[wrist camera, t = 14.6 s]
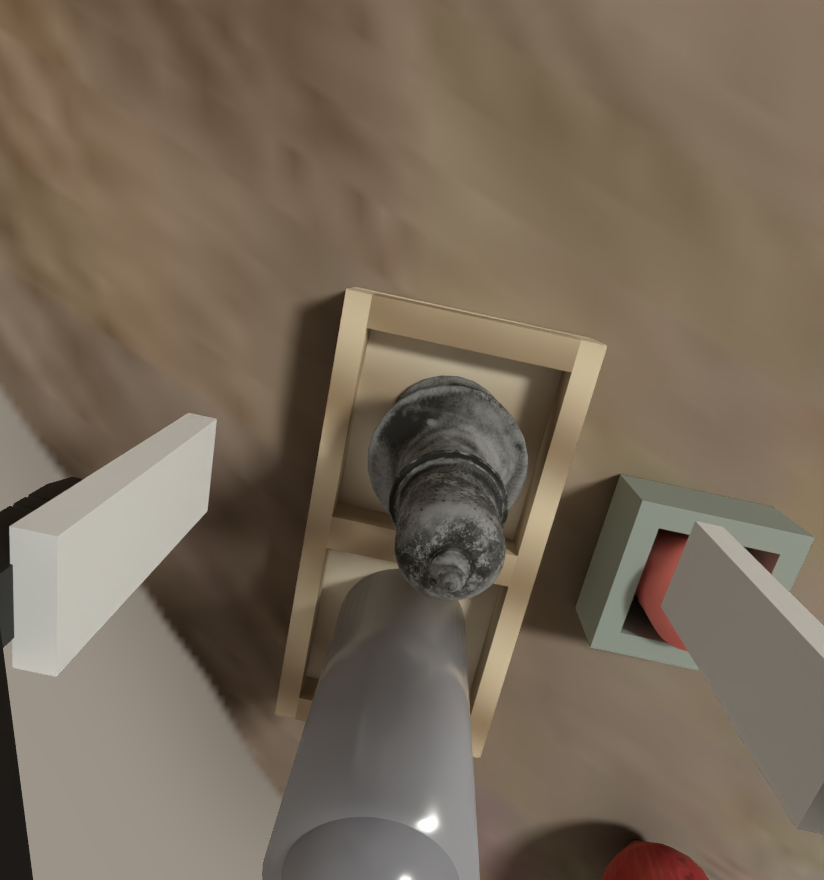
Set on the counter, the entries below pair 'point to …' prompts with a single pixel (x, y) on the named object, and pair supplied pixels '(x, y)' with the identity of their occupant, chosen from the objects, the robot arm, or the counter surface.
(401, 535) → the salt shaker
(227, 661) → the counter surface
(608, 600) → the grey-green square box
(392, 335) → the tray
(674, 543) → the button
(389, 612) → the pepper pot
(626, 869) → the onion
